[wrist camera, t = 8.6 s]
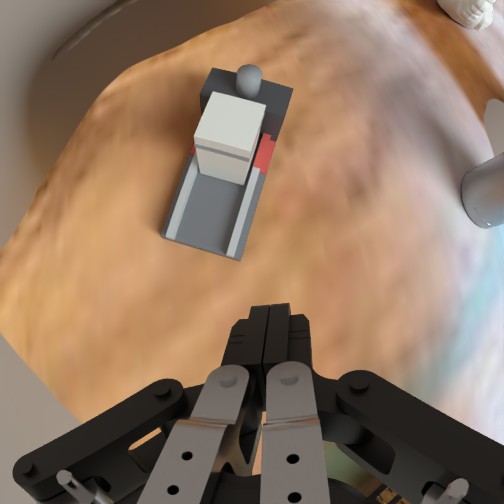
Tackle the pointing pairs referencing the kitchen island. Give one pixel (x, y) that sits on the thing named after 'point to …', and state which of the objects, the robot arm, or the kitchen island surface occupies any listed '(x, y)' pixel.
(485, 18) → the decorative rooster
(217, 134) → the grooved white block
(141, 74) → the kitchen island surface
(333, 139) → the kitchen island surface
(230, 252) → the grey boxy device
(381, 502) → the ammunition clip
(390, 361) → the kitchen island surface
